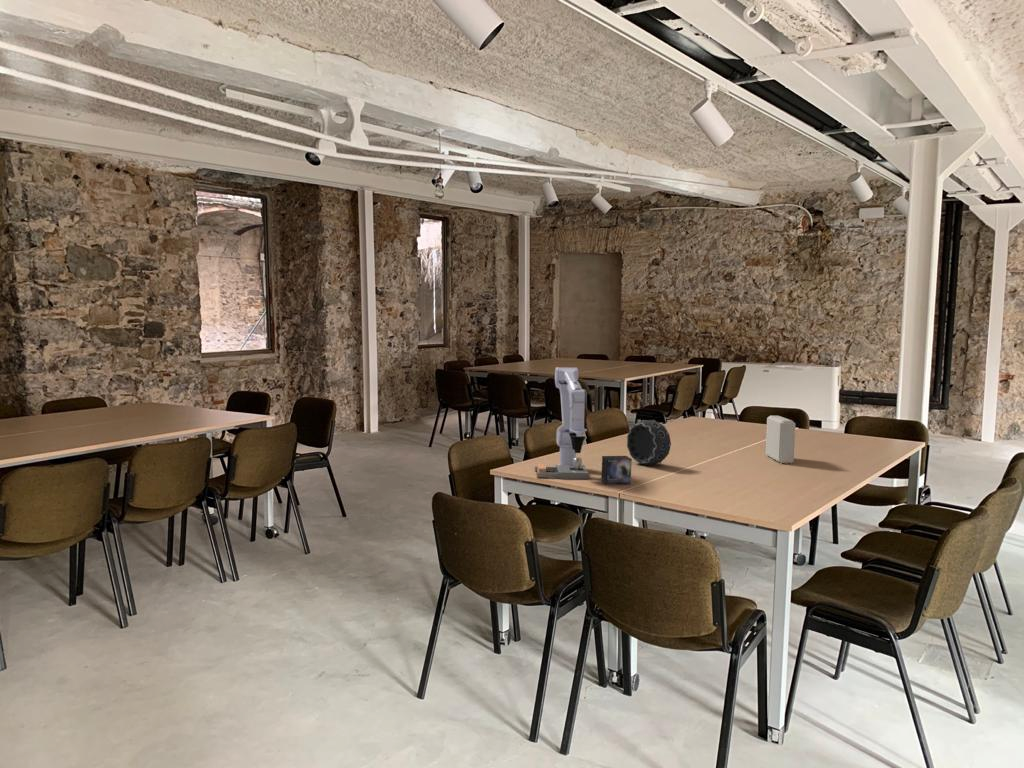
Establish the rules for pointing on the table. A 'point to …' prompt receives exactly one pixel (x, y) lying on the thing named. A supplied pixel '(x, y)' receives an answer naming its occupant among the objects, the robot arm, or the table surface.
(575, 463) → the axle peg
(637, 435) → the black toy wheel
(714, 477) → the table surface
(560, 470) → the grey flat plate
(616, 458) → the small box
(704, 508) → the table surface
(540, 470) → the latch bar
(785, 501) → the table surface
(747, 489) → the table surface
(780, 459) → the grey upright block
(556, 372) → the robot arm
